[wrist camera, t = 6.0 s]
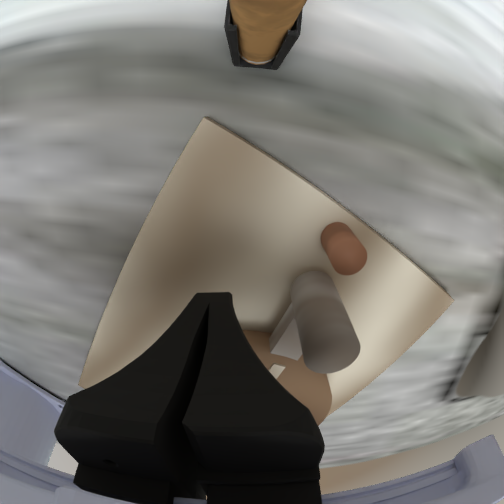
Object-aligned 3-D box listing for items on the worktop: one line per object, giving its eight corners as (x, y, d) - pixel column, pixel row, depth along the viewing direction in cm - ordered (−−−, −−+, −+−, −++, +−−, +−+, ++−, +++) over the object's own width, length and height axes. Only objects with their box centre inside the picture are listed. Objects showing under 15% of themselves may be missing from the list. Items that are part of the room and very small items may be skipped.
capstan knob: (278, 441, 20) (282, 488, 16) (145, 409, 18) (133, 460, 14) (403, 302, 14) (439, 359, 10) (213, 227, 12) (198, 283, 8)
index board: (82, 375, 18) (68, 406, 16) (206, 117, 11) (194, 118, 9) (265, 446, 22) (267, 475, 20) (446, 291, 15) (471, 321, 13)
